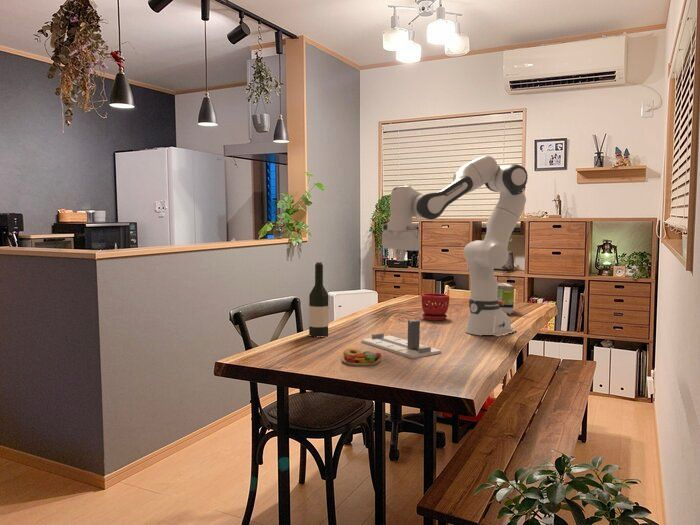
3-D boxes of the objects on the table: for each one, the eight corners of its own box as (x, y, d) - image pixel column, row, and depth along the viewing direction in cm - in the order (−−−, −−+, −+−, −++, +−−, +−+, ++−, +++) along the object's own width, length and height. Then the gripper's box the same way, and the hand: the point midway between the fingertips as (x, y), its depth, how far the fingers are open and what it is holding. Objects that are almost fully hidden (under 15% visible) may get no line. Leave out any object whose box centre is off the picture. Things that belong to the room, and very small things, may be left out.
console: (389, 337, 226) (389, 331, 226) (441, 353, 201) (441, 346, 201) (361, 341, 218) (361, 335, 218) (411, 358, 193) (411, 350, 193)
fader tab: (413, 346, 205) (414, 319, 204) (419, 348, 203) (419, 320, 202) (407, 347, 204) (407, 320, 203) (412, 349, 201) (413, 321, 200)
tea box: (513, 314, 283) (514, 285, 282) (494, 314, 284) (494, 285, 282) (506, 309, 298) (506, 282, 297) (487, 309, 299) (488, 282, 297)
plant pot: (450, 321, 263) (451, 296, 262) (422, 321, 263) (423, 295, 262) (446, 316, 276) (447, 292, 275) (419, 316, 276) (420, 292, 275)
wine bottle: (331, 334, 232) (332, 262, 229) (324, 338, 224) (324, 263, 222) (313, 332, 235) (313, 261, 232) (305, 336, 227) (305, 262, 224)
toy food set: (344, 356, 196) (344, 347, 196) (381, 358, 195) (382, 348, 194) (339, 366, 183) (339, 357, 183) (380, 368, 182) (380, 358, 181)
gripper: (424, 226, 217) (423, 262, 218) (391, 225, 234) (390, 258, 235) (411, 226, 213) (411, 263, 214) (379, 225, 230) (378, 259, 231)
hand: (400, 260), depth 225 cm, fingers closed
